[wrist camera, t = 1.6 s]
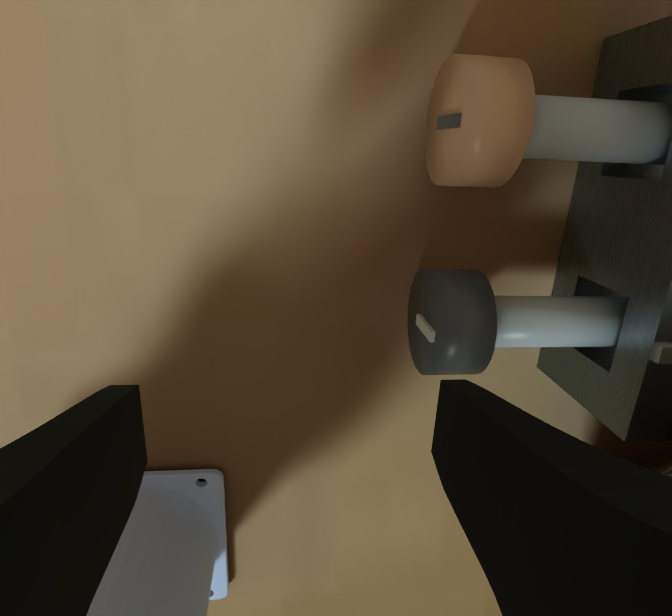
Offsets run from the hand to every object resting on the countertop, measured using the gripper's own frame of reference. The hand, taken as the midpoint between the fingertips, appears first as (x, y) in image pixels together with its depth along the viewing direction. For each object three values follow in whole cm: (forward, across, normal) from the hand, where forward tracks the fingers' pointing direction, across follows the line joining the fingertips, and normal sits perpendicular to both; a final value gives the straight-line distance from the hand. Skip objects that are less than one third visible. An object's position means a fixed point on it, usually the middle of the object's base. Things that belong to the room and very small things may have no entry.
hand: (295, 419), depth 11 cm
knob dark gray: (+8, -9, 0) cm, 12 cm away
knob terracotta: (+8, -9, -7) cm, 14 cm away
